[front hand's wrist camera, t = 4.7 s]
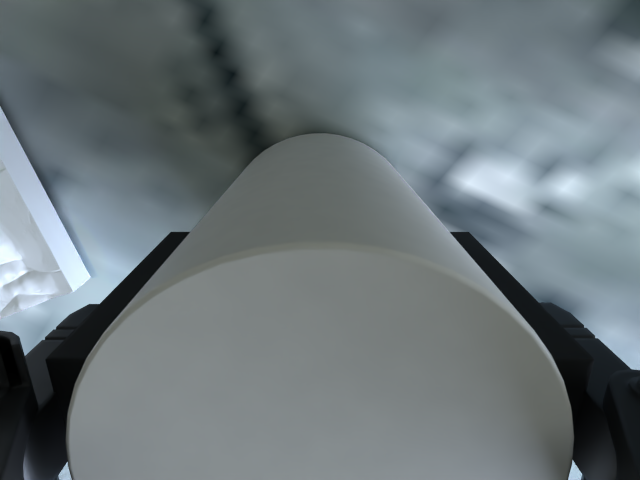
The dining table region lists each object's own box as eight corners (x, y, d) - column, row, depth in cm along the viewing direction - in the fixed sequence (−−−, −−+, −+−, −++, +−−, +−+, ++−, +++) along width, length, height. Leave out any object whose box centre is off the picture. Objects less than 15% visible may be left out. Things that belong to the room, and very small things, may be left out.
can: (425, 138, 17) (648, 259, 5) (400, 314, 19) (515, 642, 8) (225, 126, 16) (18, 225, 5) (228, 305, 19) (96, 627, 8)
